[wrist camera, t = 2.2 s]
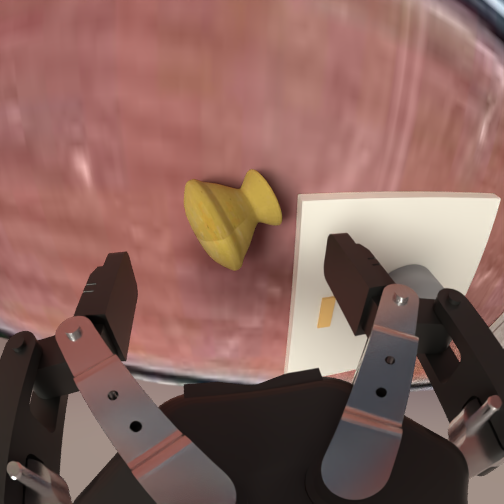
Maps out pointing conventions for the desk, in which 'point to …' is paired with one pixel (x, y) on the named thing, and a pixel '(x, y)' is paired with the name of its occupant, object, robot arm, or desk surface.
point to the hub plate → (386, 252)
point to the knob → (230, 215)
